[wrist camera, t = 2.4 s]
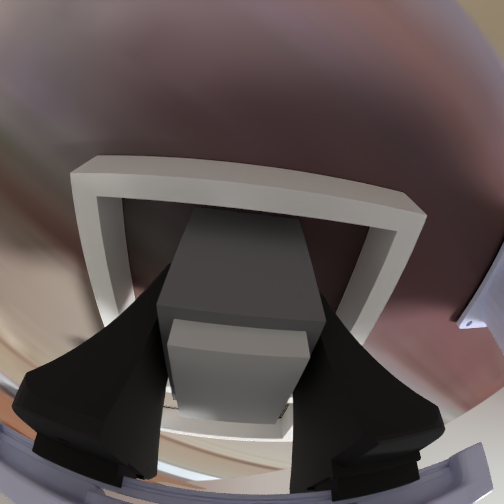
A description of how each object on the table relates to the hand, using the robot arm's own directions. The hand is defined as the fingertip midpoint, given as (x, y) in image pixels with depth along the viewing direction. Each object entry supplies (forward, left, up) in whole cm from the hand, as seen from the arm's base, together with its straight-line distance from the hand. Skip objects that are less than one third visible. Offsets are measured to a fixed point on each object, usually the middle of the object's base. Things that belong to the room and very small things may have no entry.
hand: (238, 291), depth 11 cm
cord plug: (0, 0, -2) cm, 2 cm away
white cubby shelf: (0, +6, -2) cm, 6 cm away
